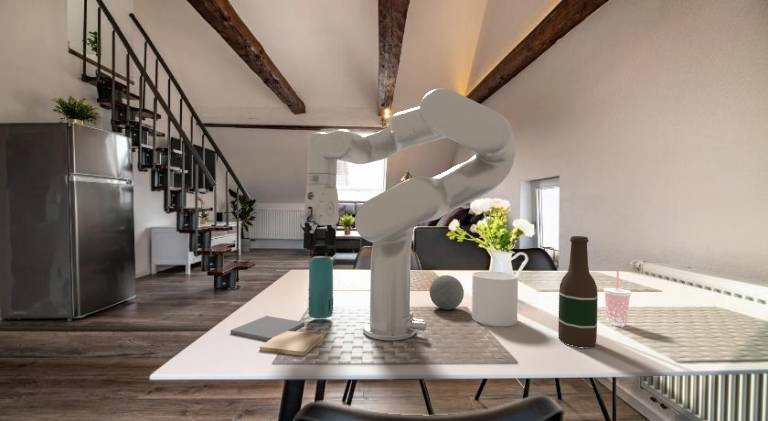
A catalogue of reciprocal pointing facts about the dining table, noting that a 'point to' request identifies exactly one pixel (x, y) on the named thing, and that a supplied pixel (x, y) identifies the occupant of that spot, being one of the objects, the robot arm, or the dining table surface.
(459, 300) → the decorative ball
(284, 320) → the slate coaster
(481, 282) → the cup
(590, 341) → the beer bottle
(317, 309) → the beverage bottle
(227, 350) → the dining table surface
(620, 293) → the beverage cup
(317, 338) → the light wooden coaster
